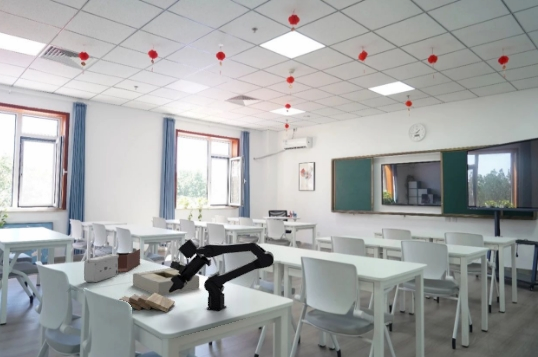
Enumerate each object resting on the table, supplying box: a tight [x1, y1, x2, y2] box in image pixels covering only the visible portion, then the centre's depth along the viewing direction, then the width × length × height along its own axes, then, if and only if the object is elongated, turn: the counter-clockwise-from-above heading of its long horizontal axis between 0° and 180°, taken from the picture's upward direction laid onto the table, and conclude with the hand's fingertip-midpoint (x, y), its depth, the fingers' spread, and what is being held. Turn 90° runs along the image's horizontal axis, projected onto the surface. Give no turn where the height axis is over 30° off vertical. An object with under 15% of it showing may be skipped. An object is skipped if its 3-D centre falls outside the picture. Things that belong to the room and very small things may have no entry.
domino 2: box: [129, 294, 153, 311], centre depth 159 cm, size 2×5×10 cm
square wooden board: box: [145, 293, 176, 313], centre depth 158 cm, size 2×10×10 cm
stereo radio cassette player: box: [83, 247, 119, 283], centre depth 217 cm, size 21×8×20 cm, turn 164°
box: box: [132, 267, 200, 296], centre depth 197 cm, size 23×8×32 cm
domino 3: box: [138, 293, 160, 311], centre depth 159 cm, size 2×5×10 cm
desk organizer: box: [115, 248, 141, 273], centre depth 250 cm, size 10×29×11 cm, turn 3°
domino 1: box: [118, 295, 144, 311], centre depth 159 cm, size 2×5×10 cm
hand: (169, 291), depth 158 cm, fingers closed
